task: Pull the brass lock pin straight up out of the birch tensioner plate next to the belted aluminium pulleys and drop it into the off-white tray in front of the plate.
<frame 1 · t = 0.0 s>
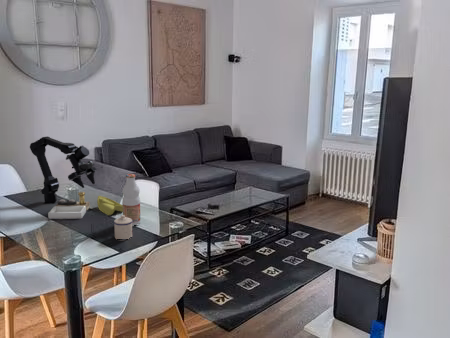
hand: (89, 185, 243), 15 cm above the table, tool tilted 35°, fingers open, 9 cm apart
teacup with lid: (122, 236, 207), on the table
plastic component: (110, 210, 247), on the table
fruit juice: (131, 224, 225), on the table
tensioner plate: (73, 208, 247), on the table
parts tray: (67, 215, 235), on the table
lock pin: (82, 208, 247), resting in tensioner plate
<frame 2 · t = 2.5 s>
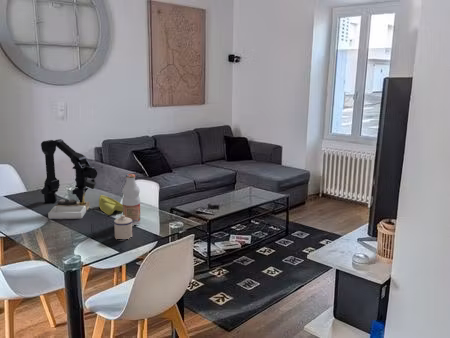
hand: (82, 201, 246), 5 cm above the table, tool pointing down, fingers closed on lock pin, 3 cm apart
lock pin: (82, 208, 247), resting in tensioner plate, touching gripper
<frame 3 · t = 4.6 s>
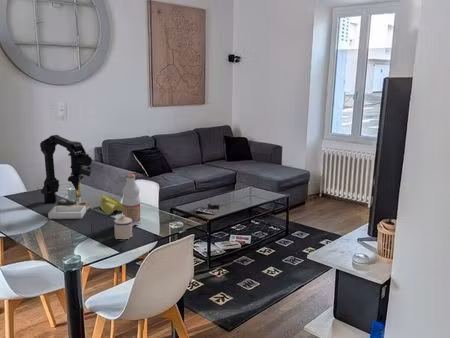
hand: (77, 189, 241), 13 cm above the table, tool pointing down, fingers closed on lock pin, 3 cm apart
lock pin: (78, 196, 242), point 9 cm above the table, touching gripper
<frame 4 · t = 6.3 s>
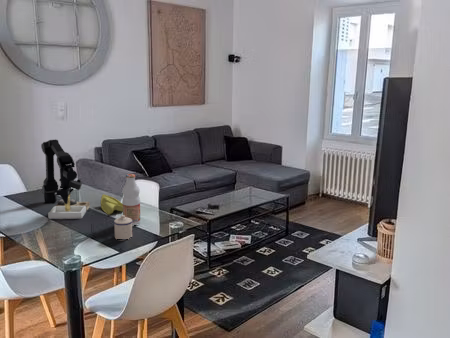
hand: (67, 202, 233), 8 cm above the table, tool pointing down, fingers closed on lock pin, 3 cm apart
lock pin: (67, 210, 235), point 3 cm above the table, touching gripper
when the fingers open (7 cm above the table, at t = 6.8 s): lock pin drops 2 cm, resting on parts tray.
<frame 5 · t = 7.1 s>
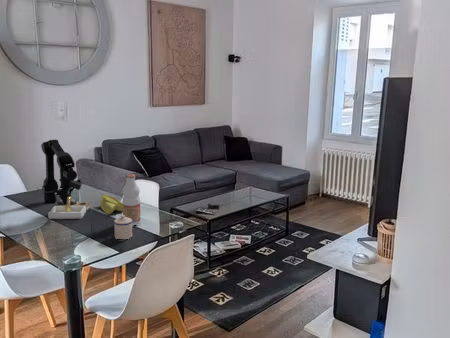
hand: (67, 202, 233), 7 cm above the table, tool pointing down, fingers open, 6 cm apart
lock pin: (68, 213, 235), point 1 cm above the table, touching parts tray
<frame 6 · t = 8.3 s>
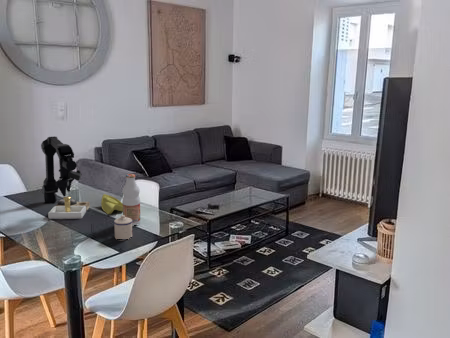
hand: (66, 193, 232), 13 cm above the table, tool pointing down, fingers open, 9 cm apart
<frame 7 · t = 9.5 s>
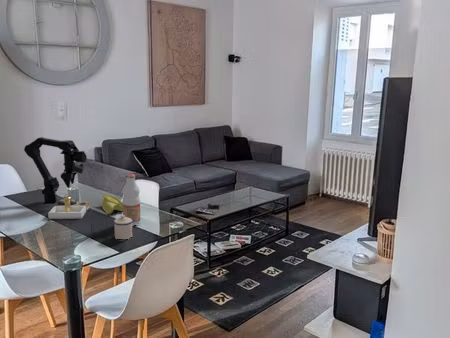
hand: (70, 185, 252), 12 cm above the table, tool pointing down, fingers open, 9 cm apart
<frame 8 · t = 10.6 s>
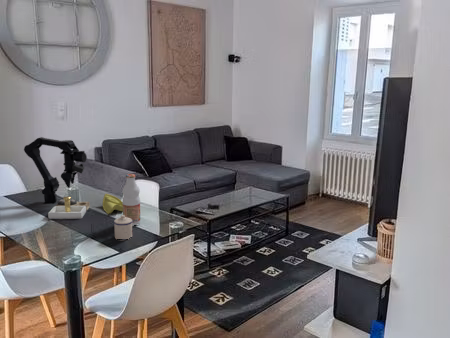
hand: (70, 185, 252), 12 cm above the table, tool pointing down, fingers open, 9 cm apart
at the end: lock pin inside the target area on the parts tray (0.2 cm from its centre), point 0.8 cm above the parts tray's base; the gripper is holding nothing; lock pin moved 13.0 cm from its start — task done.
